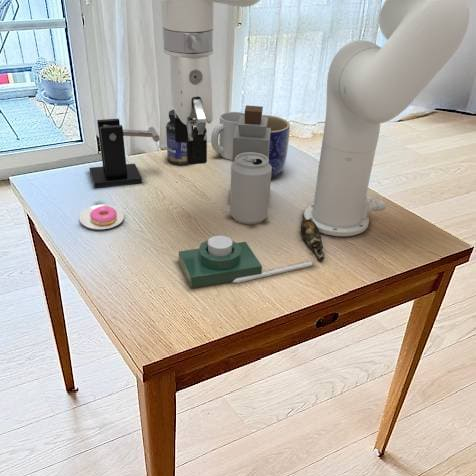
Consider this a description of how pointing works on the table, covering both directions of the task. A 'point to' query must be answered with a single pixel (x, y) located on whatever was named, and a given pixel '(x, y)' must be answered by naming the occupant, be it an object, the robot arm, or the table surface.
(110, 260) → the table surface
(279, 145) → the planter
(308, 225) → the bird model
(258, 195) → the can
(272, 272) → the pencil
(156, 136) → the flush lever
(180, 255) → the button block
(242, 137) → the perfume bottle
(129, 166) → the lever bracket
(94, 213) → the donut
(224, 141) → the cup
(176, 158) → the pill bottle
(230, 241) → the flush button
